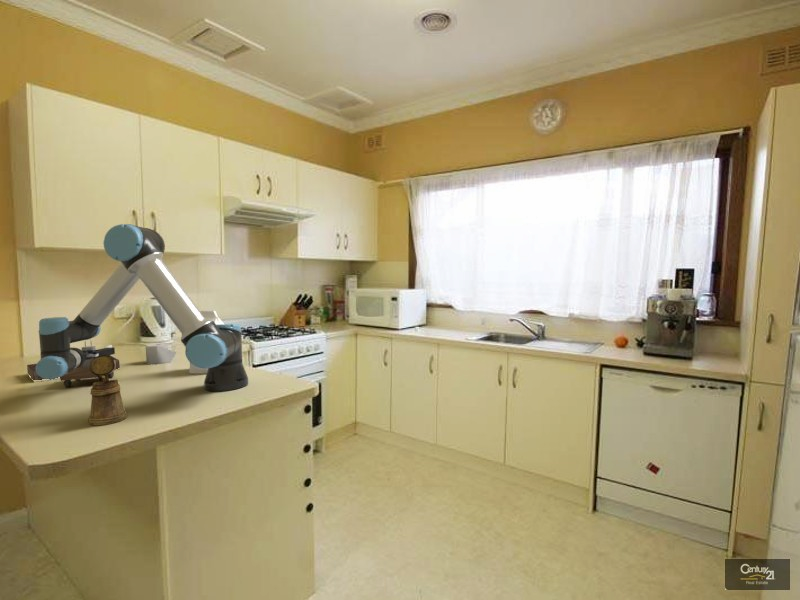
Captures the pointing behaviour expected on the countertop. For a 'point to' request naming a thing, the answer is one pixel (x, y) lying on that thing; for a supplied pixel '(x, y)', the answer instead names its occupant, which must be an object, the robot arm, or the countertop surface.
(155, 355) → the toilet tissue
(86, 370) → the cart
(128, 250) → the robot arm
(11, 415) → the countertop surface
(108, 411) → the brown bell-shaped piece
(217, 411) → the countertop surface
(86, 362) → the power adapter
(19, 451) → the countertop surface
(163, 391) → the countertop surface
